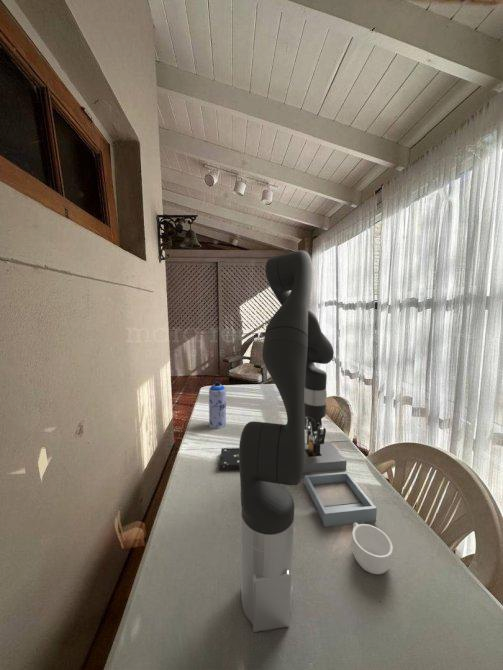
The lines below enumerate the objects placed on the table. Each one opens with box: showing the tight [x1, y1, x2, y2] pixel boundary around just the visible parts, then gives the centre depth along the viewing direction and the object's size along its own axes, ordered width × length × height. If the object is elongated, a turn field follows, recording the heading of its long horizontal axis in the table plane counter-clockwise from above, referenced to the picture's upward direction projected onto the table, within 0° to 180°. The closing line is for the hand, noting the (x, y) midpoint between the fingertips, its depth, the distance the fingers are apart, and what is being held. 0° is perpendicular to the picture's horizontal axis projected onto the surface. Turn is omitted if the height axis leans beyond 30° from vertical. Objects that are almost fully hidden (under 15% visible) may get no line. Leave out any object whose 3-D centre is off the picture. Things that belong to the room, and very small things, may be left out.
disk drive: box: [218, 447, 240, 472], centre depth 90 cm, size 10×3×15 cm
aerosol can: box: [208, 380, 227, 430], centre depth 117 cm, size 8×8×20 cm
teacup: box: [351, 523, 394, 575], centre depth 56 cm, size 10×8×5 cm
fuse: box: [308, 434, 318, 457], centre depth 89 cm, size 3×3×9 cm
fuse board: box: [303, 441, 348, 474], centre depth 89 cm, size 12×18×4 cm, turn 98°
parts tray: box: [303, 471, 378, 528], centre depth 72 cm, size 15×14×4 cm
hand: (313, 448), depth 89 cm, fingers open, 5 cm apart
